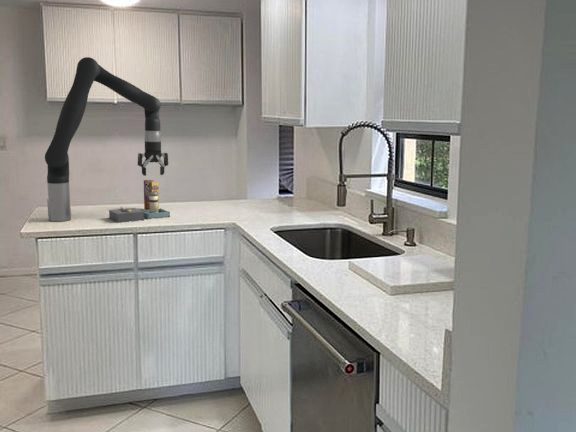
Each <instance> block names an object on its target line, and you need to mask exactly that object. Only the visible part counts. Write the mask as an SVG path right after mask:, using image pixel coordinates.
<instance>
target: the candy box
mask: <svg viewBox="0 0 576 432" xmlns="http://www.w3.org/2000/svg"><path fill="white" fill-rule="evenodd" d="M159 185H160V183H159V181H158V180H155V179H154V180H153V179H143V207H144V209H143V210H149V209H150V202H149V192H158V209H160V202H159V201H160V199H159V198H160V193H159V192H160V191H159V188H160V187H159Z"/></svg>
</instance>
